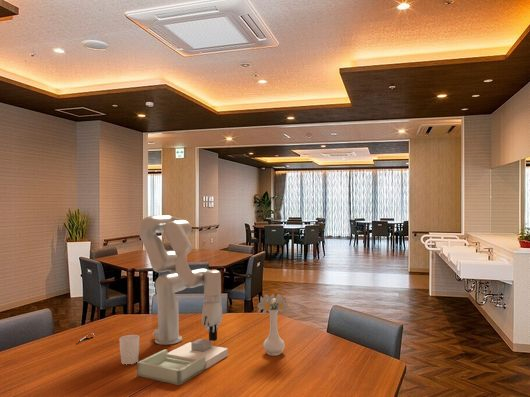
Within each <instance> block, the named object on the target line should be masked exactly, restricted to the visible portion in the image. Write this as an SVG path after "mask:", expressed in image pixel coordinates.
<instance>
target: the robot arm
mask: <svg viewBox="0 0 530 397" xmlns="http://www.w3.org/2000/svg"><path fill="white" fill-rule="evenodd" d="M192 230H193V228H192V225H191V224H190V222H189V221H187V220H186V219H182V218H179V217H176V216H172V215H168V214H164V215H160V214H159V215H149V216H146V217H144V218H142V220H141V221H140V222H139V226H138V234H139V237H140V239H141V240H140V241H141V242H142V244H143V246H144V248H145V252H146V255H147V258H148V261H149V262H150V267H152V271H154V272H156V273H163V274H161V275H159V276H158V277H157V278H156V280H155V283H154V284H155V285H154V286H155V287H154V288H155V292H156V298H157V329H154V330H153V331H152V335H153V336H156V337H155V338H154V343H155V344H157V345H165V346H168V345H175V344H177V343H180V342H182V341H183V336H182V335H180V334H179V331H180V327H179V325H180V324H179V322H180V321H179V320H180V319H179V300H178V297H177V296H176V293H178V292H181V291H184V290H185V289H187V288H188V289H192V288H197V287H200V286H203V303H202V308H201V309H202V310H201V326H204V330H207V331H208V340H211V342H215V341H218V328H219V326H220V325H221V323H222V321H223V307H222V306H223V305H222V285H221V284H222V277H221V276H222V274H221V271H220V270H217V269H207V268H195V269H191V268H190V265H189V263H188V254H189V253H191V252H192V250H193V247H194V246H193V244H192V243H191V241H190V239H189V236H191V234H192V232H193V231H192ZM157 234H164V235H165V237H166V239H167V241H168V243H169V244H170V246H171V248H172V250H166V248H165V245H164V243H163V240H162V239H161V238H160V237H159V236H158V235H157ZM164 272H167V273H164Z"/></svg>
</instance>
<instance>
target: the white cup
mask: <svg viewBox="0 0 530 397" xmlns="http://www.w3.org/2000/svg"><path fill="white" fill-rule="evenodd" d="M118 340H119V354H120V364H121V363H122V364H121V365H124V364H126V365H125V366H128V365H127V364H131V365H134V363H135V364H137V363H136V362H139V354H140V335H138V334H127V335H123V336H120V337H119V338H118Z"/></svg>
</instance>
